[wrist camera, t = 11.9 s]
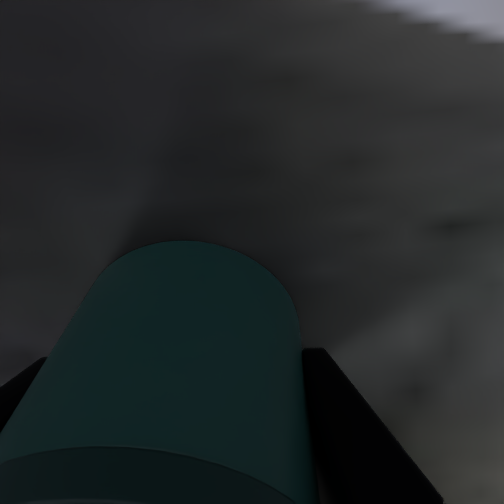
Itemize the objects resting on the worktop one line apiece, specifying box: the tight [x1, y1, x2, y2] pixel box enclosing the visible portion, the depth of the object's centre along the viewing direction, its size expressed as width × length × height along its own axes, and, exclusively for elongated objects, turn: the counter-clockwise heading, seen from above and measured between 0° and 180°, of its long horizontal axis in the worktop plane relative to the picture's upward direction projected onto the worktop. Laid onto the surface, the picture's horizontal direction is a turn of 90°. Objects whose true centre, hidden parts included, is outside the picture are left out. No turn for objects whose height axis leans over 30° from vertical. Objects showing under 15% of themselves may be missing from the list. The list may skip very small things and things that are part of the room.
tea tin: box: [0, 241, 320, 504], centre depth 7 cm, size 5×5×5 cm
